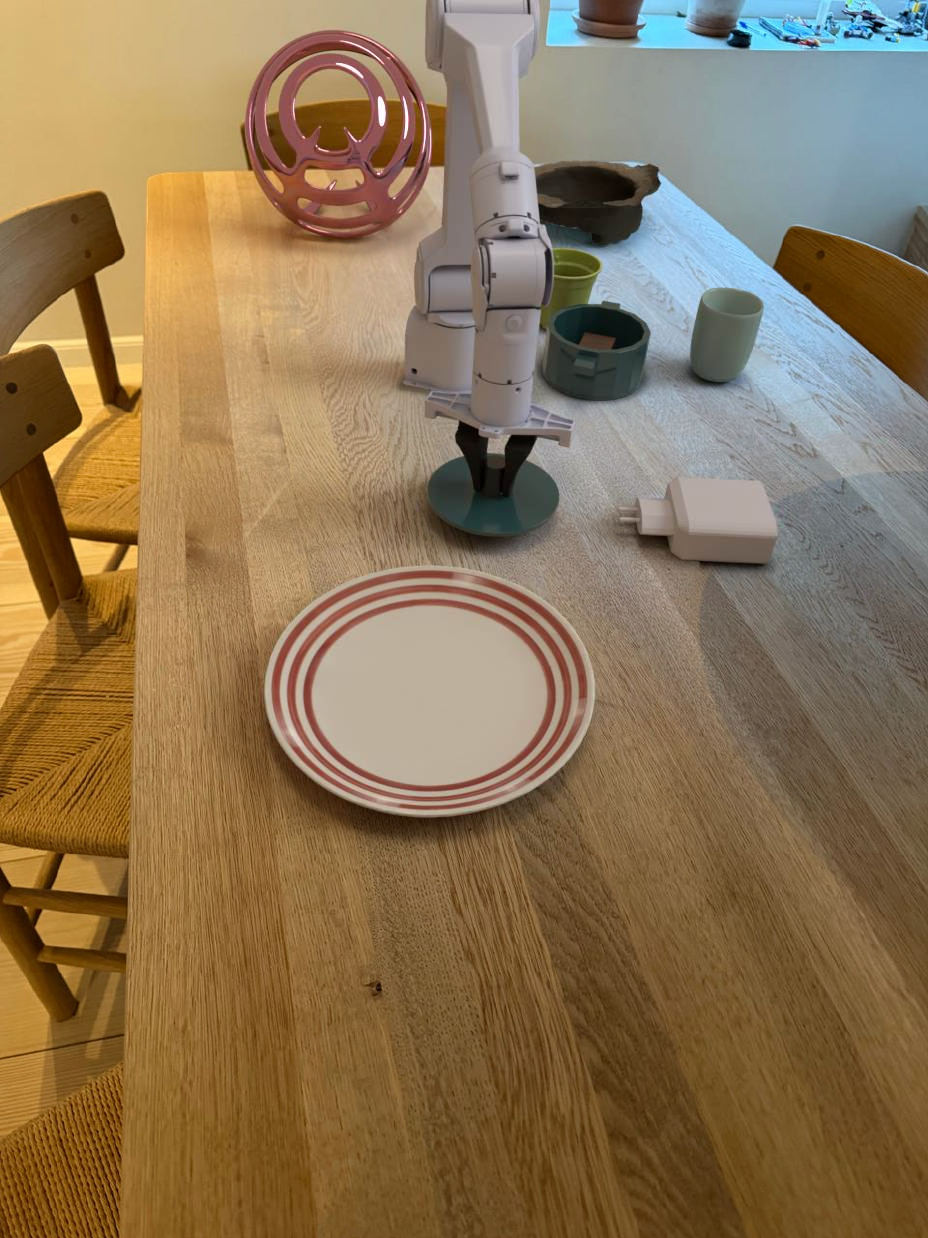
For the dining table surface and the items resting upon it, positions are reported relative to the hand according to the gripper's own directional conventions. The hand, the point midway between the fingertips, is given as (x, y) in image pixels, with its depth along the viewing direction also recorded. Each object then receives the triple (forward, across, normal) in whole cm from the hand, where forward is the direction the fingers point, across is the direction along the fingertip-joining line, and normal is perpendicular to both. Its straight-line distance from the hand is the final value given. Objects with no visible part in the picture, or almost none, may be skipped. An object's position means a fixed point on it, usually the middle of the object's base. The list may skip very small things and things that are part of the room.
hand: (493, 488), depth 98 cm
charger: (+4, +20, +4) cm, 21 cm away
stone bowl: (+4, -8, +80) cm, 80 cm away
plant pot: (+4, -3, +45) cm, 45 cm away
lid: (+1, 0, 0) cm, 1 cm away
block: (+3, +4, +33) cm, 33 cm away
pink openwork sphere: (+4, -43, +63) cm, 76 cm away
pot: (+4, +4, +33) cm, 33 cm away
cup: (+4, +19, +39) cm, 43 cm away
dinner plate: (+4, +2, -26) cm, 26 cm away
